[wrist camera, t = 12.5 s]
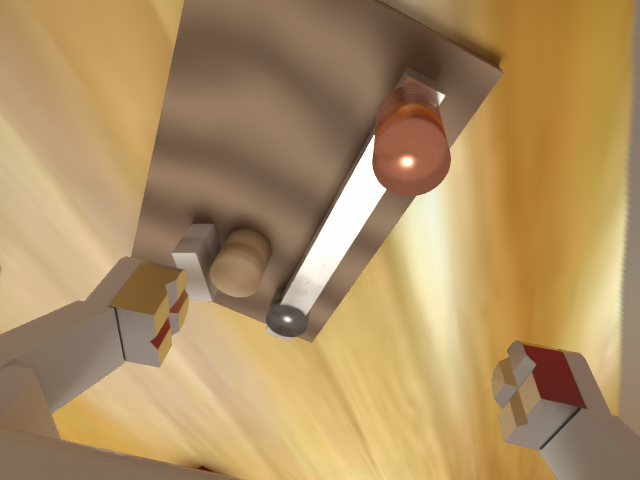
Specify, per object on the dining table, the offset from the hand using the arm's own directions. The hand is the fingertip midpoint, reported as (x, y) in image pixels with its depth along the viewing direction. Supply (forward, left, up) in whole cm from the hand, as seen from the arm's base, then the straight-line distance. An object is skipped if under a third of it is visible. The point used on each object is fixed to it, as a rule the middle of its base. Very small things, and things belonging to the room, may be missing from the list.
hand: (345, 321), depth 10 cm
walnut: (-17, +3, -20) cm, 26 cm away
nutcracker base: (-10, +3, -22) cm, 24 cm away
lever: (-10, -2, -19) cm, 22 cm away
